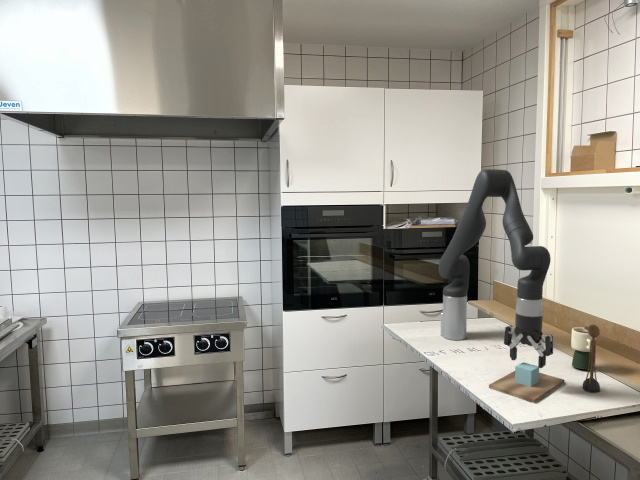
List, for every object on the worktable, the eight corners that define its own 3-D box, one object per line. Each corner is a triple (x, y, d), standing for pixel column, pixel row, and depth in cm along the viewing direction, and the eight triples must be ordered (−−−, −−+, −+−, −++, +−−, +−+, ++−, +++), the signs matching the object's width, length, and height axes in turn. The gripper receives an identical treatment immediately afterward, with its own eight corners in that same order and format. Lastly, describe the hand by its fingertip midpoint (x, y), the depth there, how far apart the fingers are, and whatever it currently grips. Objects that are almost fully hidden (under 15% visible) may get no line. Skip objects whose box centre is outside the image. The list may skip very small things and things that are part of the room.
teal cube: (514, 381, 150) (515, 366, 150) (523, 377, 154) (523, 362, 153) (530, 386, 147) (531, 370, 146) (538, 382, 150) (539, 366, 149)
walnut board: (488, 387, 149) (488, 384, 149) (521, 370, 162) (521, 367, 162) (534, 403, 138) (534, 399, 138) (564, 382, 151) (564, 379, 151)
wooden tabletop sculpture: (576, 385, 149) (579, 321, 147) (590, 384, 150) (593, 320, 147) (589, 393, 144) (592, 327, 141) (603, 392, 144) (607, 326, 142)
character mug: (601, 374, 157) (603, 335, 155) (577, 374, 157) (579, 335, 156) (586, 362, 167) (588, 325, 166) (564, 361, 168) (566, 325, 167)
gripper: (500, 309, 150) (499, 360, 152) (547, 319, 140) (544, 373, 142) (512, 305, 155) (511, 354, 157) (558, 314, 144) (556, 366, 147)
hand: (527, 363), depth 149 cm, fingers open, 8 cm apart
